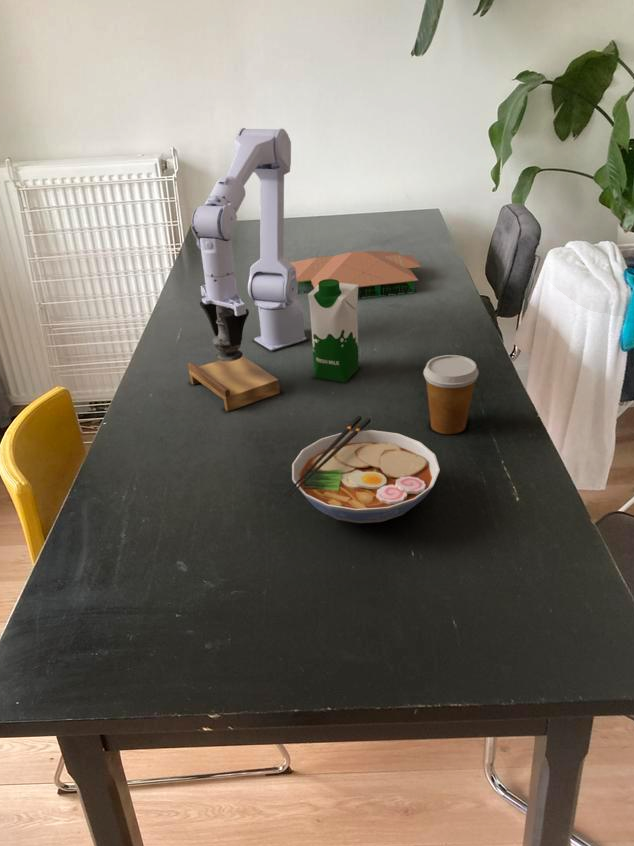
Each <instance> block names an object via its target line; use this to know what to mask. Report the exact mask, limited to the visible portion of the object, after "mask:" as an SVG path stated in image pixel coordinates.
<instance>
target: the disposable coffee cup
mask: <svg viewBox="0 0 634 846" xmlns="http://www.w3.org/2000/svg"><path fill="white" fill-rule="evenodd" d="M479 374H480V372H479V369H478V368H477V364H476V362H475V361H474V360H473V359H471V358H470V357H467V356H463V355H458V354H457V355H456V354H445V355H438V356H435V357H433V358H431V359H429V361H427V362H426V364H425V367H424V369H423V376H424V379H425V381H426V392H427V400H428V410H429V419H430V427H431V429H432V430H433V431H435V433H439V434H443V435H454V434H455V435H456V434H459V433H462V432H463V431H464V430H465V429H466V427H467V423H468V422H467V421H468V417H469V412H470V407H471V403H472V399H473V393H474V388H475V384H476V380H477V379H478V376H479Z"/></svg>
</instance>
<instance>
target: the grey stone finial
mask: <svg viewBox="0 0 634 846" xmlns="http://www.w3.org/2000/svg"><path fill="white" fill-rule="evenodd" d="M216 311H217V320H216V323H217V324H218V329H219V334H218V336H214V337H213V338H212V343H213V344H214V347H215V349H216V350H217V351H218V353H217V354H216V356H215V357H216V359H217V361H219V360H220V361H234V360H237V359H240V358H241V357H242V356H244V353H243V352H242V351H241V350H239V349H240V348H241V344H242V343H241V344H240V345H236V346H233V347H232V346H230V344H229V341H228V337H227V333H226V329H225V326H224V324H223V322H222V320H221V318H220V317H219V315H218V313H222V312H225V311H228V309H227V307H224V306H219V305H217V306H216ZM242 341H243V339H242V340H241V342H242Z"/></svg>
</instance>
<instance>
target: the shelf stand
mask: <svg viewBox="0 0 634 846" xmlns="http://www.w3.org/2000/svg"><path fill="white" fill-rule="evenodd" d="M187 367H188V374H189V380H190V384H192V385H193V386H195V385H198V384H202V385H203V386H204V387H205V388H207V389H208V390H210V392H213V393H214V394H215V395H216V396H218V397H219V398H220V399H221V400H223V406H224V410H225V411H226V412H230V411H233V410H235V409H238V408H241V407H244V406H247V405H249V404H253V403H256V402H258V401H261V400H265V399H267V398H270V397H273V396H275V395H279V394H281V392H280V391H281V390H280V380H279V379H278V378H277V377H276V376H274V375H273V374H271V373H269V372H268V371H267V370H264V369H263V368H262V367H260V366H259V365H257V364H255V363H254V362H252V361H251V360H249V359H248V358H247V357H245V356H244V355H242V357H241V358H240V359H237V360H234V361H220V360H216V361H213V362H210V363H207V364H204V365H199V366H198V365H197V364H196V363H194V362H193V361H191V362H188V363H187Z"/></svg>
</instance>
